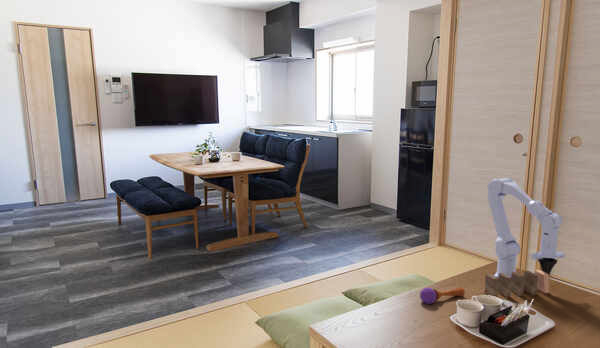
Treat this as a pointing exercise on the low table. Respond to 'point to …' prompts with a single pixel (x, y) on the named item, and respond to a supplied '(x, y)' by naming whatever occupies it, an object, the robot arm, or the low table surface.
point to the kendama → (438, 294)
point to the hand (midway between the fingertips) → (545, 275)
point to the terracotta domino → (542, 281)
